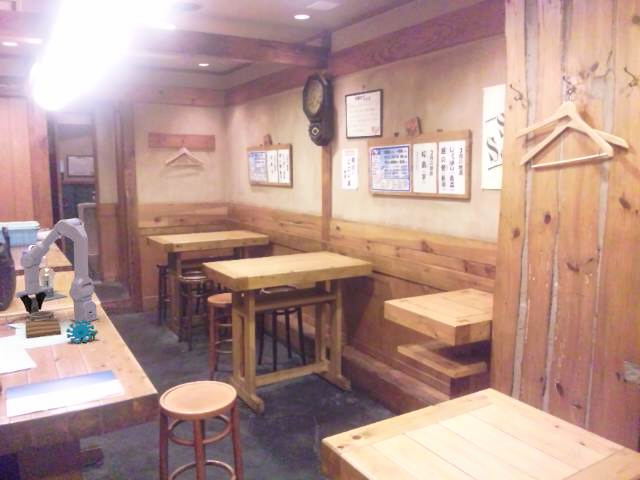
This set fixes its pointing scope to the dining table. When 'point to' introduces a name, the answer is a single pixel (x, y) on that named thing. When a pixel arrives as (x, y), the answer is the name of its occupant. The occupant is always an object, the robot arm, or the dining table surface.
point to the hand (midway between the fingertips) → (33, 310)
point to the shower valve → (52, 295)
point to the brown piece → (42, 324)
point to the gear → (81, 331)
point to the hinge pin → (34, 305)
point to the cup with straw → (47, 275)
